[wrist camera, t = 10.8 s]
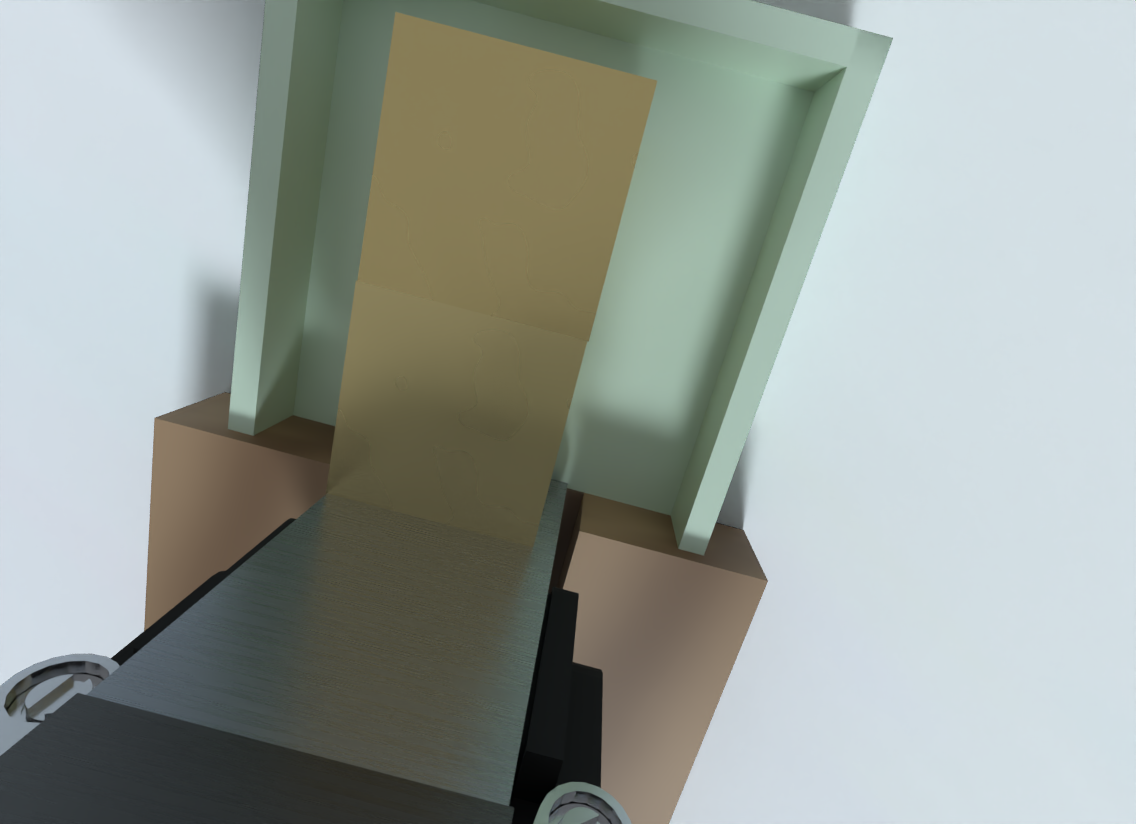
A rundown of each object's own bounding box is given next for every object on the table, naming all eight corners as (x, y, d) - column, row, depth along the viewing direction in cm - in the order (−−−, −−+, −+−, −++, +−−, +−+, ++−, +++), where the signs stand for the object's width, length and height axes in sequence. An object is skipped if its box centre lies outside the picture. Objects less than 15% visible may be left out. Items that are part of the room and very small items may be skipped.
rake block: (570, 481, 14) (449, 1184, 3) (523, 652, 15) (333, 1531, 5) (392, 435, 14) (-286, 989, 3) (361, 609, 15) (-190, 1394, 5)
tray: (847, 72, 12) (892, 38, 10) (691, 516, 15) (703, 555, 13) (330, -66, 12) (276, -127, 10) (277, 405, 15) (227, 428, 13)
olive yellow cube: (594, 315, 13) (587, 340, 10) (553, 469, 15) (533, 547, 11) (428, 272, 13) (355, 280, 10) (401, 429, 14) (326, 493, 11)
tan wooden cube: (642, 133, 12) (657, 80, 8) (594, 315, 13) (588, 342, 10) (462, 86, 12) (395, 11, 8) (429, 272, 13) (357, 281, 10)
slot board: (743, 529, 15) (768, 581, 13) (571, 978, 20) (566, 1073, 18) (224, 392, 15) (154, 418, 13) (184, 875, 20) (128, 957, 18)
